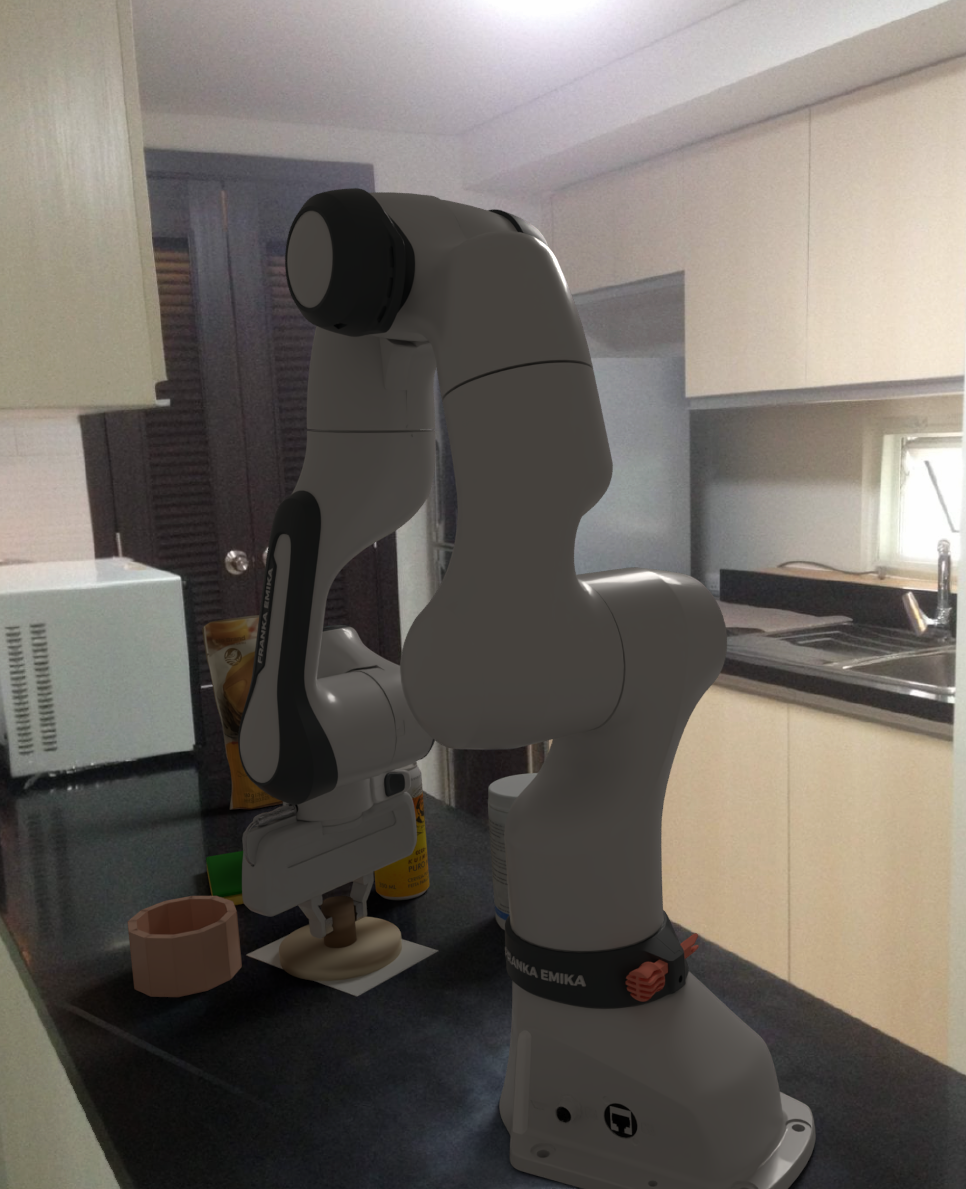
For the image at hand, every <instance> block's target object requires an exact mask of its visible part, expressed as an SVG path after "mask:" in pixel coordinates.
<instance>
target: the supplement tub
mask: <svg viewBox="0 0 966 1189" xmlns="http://www.w3.org/2000/svg"><path fill="white" fill-rule="evenodd" d="M537 774H538V772H534V773H533V772H532V773H529V772H528V773H522V774H513V775H509V776H505V777H501V778H499V779H497V780H494V781H493V782H491V783H490V784H489V785H488V790H487V791H488V792H487V793H488V799H487V811H488V812H487V813H488V815H487V816H488V827H489V829H488V830H489V844H490V857H491V870H492V874H491V875H492V883H493V884H492V886H493V901H494V913H495V921H496V923H497V925H498V926H499V927H500V928H501V929H502V930H503V931H505V922H506V919H507V917H508V916H509V915H510V912H509V897H508V882H507V867H506V851H505V836H504V832H505V824H506V819H507V816H508V813H509V810H510V808H511V806H512V804H513V803H514V801H515V800H516V798H517V797H518V796H519V795H520V793H521V792H522V791H523V790H524V789H525V788H526V787H527V786H528V785H529V784H530V783H531V781H532V780H533V779H534V778H535V777H536V775H537Z"/></svg>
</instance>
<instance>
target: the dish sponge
mask: <svg viewBox="0 0 966 1189" xmlns="http://www.w3.org/2000/svg"><path fill="white" fill-rule="evenodd" d="M205 861H206V862H205V863H206V872H207V877H208V883H209V888H210V889H209V890H210V893H211V896H218V897H221V898H224V899H227V900H231V901H233V903H234V906H238V905H242V904H243V905H245V904H244V902H243V897H242V863H243V850H238V851H234V852H228V853H221V854H217V855H210V856H207V857H206V858H205Z"/></svg>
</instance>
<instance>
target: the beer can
mask: <svg viewBox="0 0 966 1189" xmlns="http://www.w3.org/2000/svg"><path fill="white" fill-rule="evenodd" d="M399 769H403V770H407V771H409V772H410V775H411V787H410V789H409V790H408V791H406V792H407V793H409V794H410V796H411V798H412V800H413V804H414V810H415V818H416V829H417V842H416V845H415V848H414V850H413V852H412V854H411V855H409V856H407V857H405V858H403V859H400V860H398V861H396V862H394V863H391V864H389V865H387V866H385V867H382V868H380V869H378V870H376V871H374V872H373V874H374V881H375V882H374V884H375V886H374V887H375V892H376V893H377V894H378V895H379V896H381V897H382V898H384V899H386V900H390V901H405V900H406V901H407V900H412V899H415V898H418V897H420V896H422V895H423V894H424V893H425V892H426V891H427V890H428V888H429V887H430V873H429V860H428V859H429V857H428V845H427V833H426V832H427V831H426V818H425V804H424V803H425V802H424V791H423V790H424V789H423V777H422V771H421V769H420V767H419V766H418V761H416V762H415V763H413V764H411V765H408V766H405V767H402V768H399Z"/></svg>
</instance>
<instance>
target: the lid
mask: <svg viewBox="0 0 966 1189" xmlns="http://www.w3.org/2000/svg"><path fill="white" fill-rule="evenodd" d="M322 901H323V903H322V905H320V908H321V909H320V910H321V912H322V914H324V915H328V916H331V917H332V922H333V924H332V927H333V932H332V933H331V934H329V935H327V936H325V937H323V938H321V939H319V938H316V937H313V936H312V935H311V933H310V926H309V924H306V925H304V926H301V927H300V928H297V929H295V930H294V931H292V932H290V934H287V935H288V936H287V935H286V936H287V937H286V938H285V939H284V940H283V941H282V942H281V944H280V946H279V957H280V964H281V967H282V968H283V969H282V970H283V971H284V972H286V973H287V974H288V975H291V976H292V977H295V978H298V979H302V980H308V981H313V980H314V982H316V981H335V980H344V979H350V978H356V977H360V976H363V975H367V974H370V973H372V972H375V971H377V970H380V969H382V968H384V967H385V966H387V965H389V964H390V963H392V962H393V961H394V960H395V959H396V958H397V957H398V956H399V954H400V952H401V950H402V941H401V939H402V932H401V931H400V929H399V927H398V926H397V925H395V924H394V923H393V922H390V921H388V920H386V919H383V918H378V917H373V916H366V917H364V918H362V919H360V920H358V921H356V922H355V913H354V901H353V898H351V897H350V896H348V895H336V896H331V897H327V898H325V899H324V900H323V899H322Z"/></svg>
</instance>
